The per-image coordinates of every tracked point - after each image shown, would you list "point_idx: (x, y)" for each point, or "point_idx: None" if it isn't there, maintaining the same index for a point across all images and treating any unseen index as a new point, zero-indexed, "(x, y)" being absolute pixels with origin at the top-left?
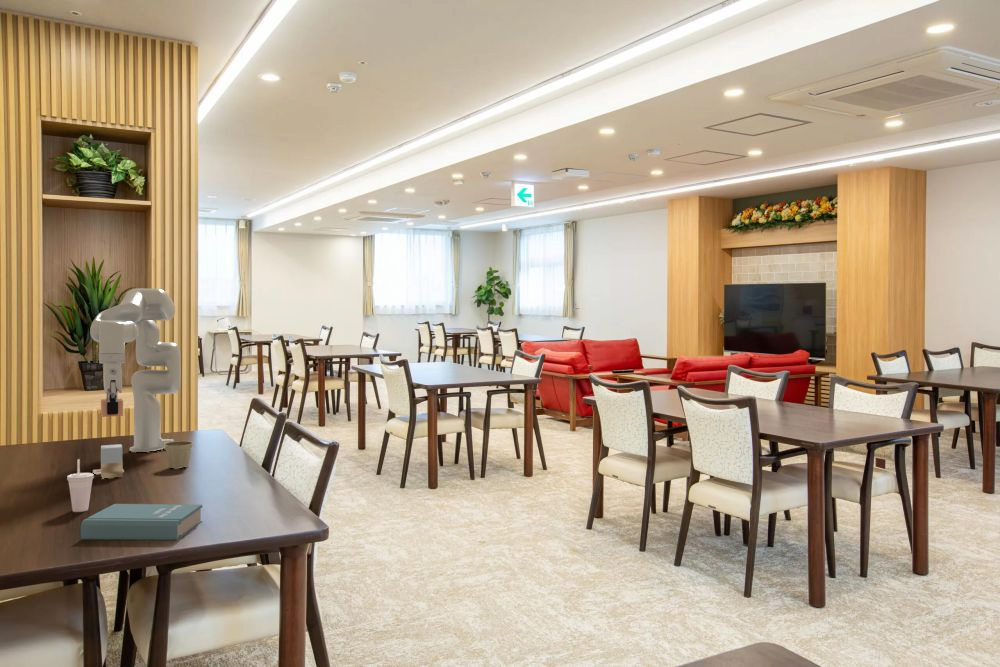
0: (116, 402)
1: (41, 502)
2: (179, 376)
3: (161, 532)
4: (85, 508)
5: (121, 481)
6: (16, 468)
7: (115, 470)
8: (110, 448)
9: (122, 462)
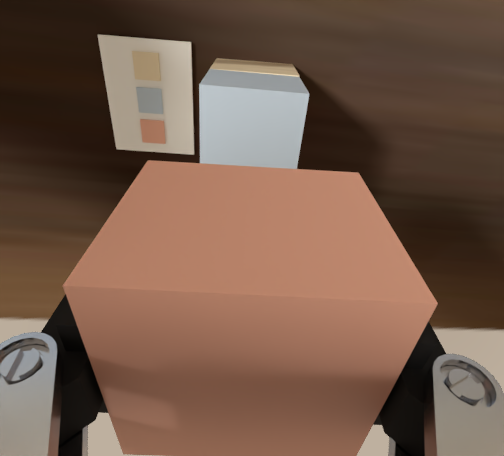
0: (427, 355)
1: (476, 286)
2: None
3: None
4: None
5: (373, 81)
6: (20, 307)
7: None
8: (298, 153)
9: (298, 76)
